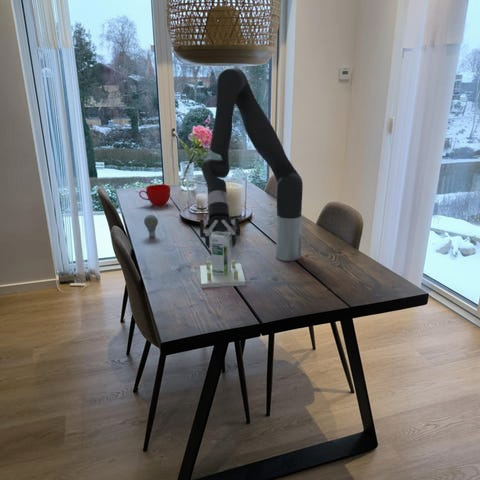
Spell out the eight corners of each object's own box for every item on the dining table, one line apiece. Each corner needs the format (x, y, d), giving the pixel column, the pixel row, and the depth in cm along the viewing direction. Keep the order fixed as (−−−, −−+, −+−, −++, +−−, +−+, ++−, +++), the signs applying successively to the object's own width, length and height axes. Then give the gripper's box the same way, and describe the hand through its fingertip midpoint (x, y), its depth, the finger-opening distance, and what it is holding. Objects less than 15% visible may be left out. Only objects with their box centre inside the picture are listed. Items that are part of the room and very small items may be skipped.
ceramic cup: (139, 203, 244) (137, 186, 240) (169, 200, 249) (168, 183, 245) (141, 209, 233) (139, 191, 229) (173, 206, 237) (171, 189, 234)
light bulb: (145, 239, 191) (143, 217, 187) (144, 234, 196) (143, 213, 193) (159, 238, 192) (158, 216, 189) (158, 233, 198) (156, 212, 194)
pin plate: (240, 267, 163) (240, 257, 162) (245, 285, 149) (245, 274, 148) (200, 269, 162) (199, 259, 160) (201, 287, 148) (200, 277, 146)
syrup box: (211, 274, 154) (210, 235, 149) (216, 267, 159) (215, 230, 154) (226, 276, 152) (226, 237, 147) (231, 269, 158) (231, 231, 153)
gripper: (198, 201, 154) (200, 243, 148) (238, 200, 156) (242, 241, 149) (198, 211, 161) (200, 252, 155) (237, 210, 163) (240, 250, 156)
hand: (221, 246), depth 152 cm, fingers open, 8 cm apart
